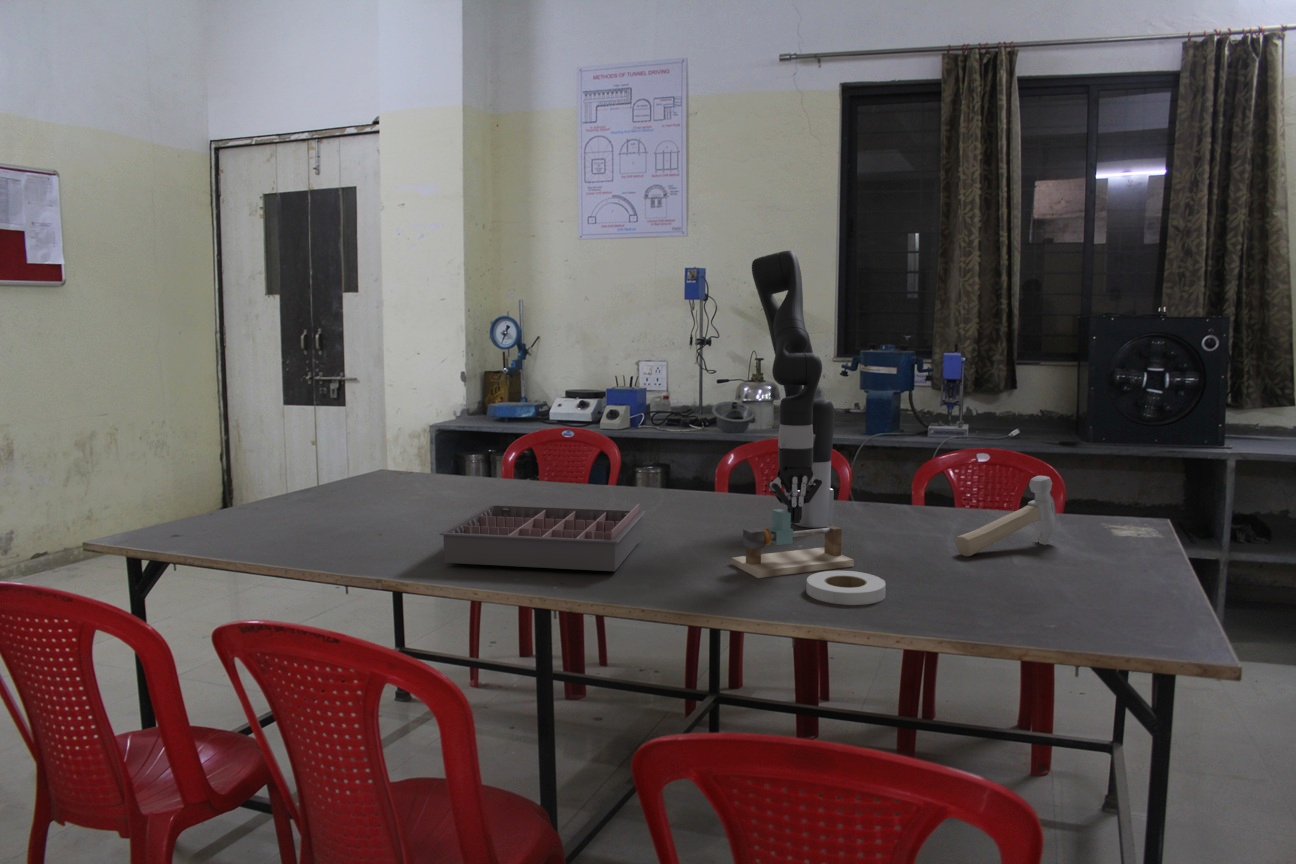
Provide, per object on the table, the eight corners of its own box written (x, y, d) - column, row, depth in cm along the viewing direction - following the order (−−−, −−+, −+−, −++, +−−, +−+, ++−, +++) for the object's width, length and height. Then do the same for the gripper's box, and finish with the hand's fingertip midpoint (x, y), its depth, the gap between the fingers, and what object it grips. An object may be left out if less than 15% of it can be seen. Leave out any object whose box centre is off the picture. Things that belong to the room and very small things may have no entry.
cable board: (823, 553, 217) (824, 516, 216) (853, 566, 206) (854, 527, 205) (731, 564, 208) (731, 525, 207) (757, 578, 197) (758, 537, 196)
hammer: (966, 517, 210) (1054, 476, 224) (950, 514, 214) (1037, 474, 228) (975, 581, 214) (1060, 537, 227) (959, 576, 218) (1044, 533, 231)
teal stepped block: (783, 539, 208) (784, 508, 207) (794, 544, 204) (794, 512, 203) (768, 541, 206) (768, 510, 205) (778, 545, 202) (778, 514, 201)
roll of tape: (835, 610, 176) (835, 595, 176) (791, 588, 190) (792, 575, 190) (902, 600, 182) (902, 586, 182) (854, 580, 196) (855, 567, 196)
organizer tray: (490, 535, 236) (489, 496, 235) (646, 542, 228) (646, 502, 227) (439, 569, 205) (438, 525, 203) (617, 579, 197) (617, 532, 196)
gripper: (812, 441, 209) (810, 517, 212) (760, 444, 204) (759, 522, 207) (831, 445, 203) (829, 523, 205) (778, 448, 198) (777, 529, 200)
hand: (794, 522), depth 206 cm, fingers closed
